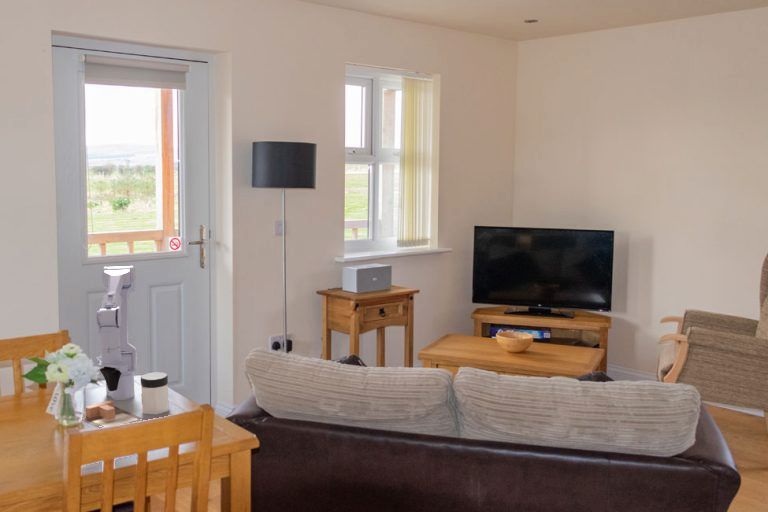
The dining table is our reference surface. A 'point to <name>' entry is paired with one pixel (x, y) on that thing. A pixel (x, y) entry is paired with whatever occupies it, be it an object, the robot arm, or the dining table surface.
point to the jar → (155, 393)
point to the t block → (101, 410)
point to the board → (120, 418)
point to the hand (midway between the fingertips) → (112, 390)
